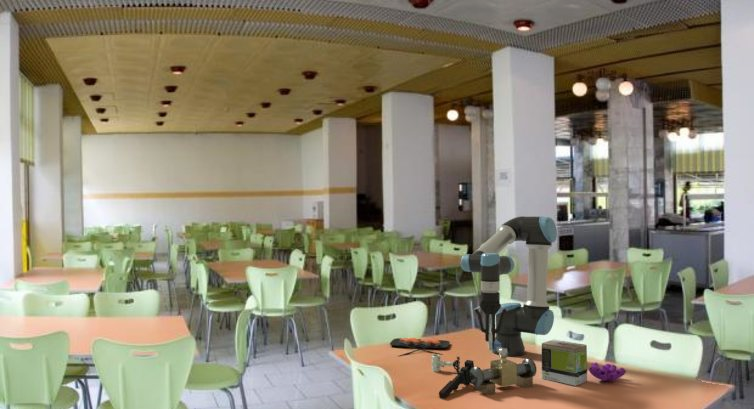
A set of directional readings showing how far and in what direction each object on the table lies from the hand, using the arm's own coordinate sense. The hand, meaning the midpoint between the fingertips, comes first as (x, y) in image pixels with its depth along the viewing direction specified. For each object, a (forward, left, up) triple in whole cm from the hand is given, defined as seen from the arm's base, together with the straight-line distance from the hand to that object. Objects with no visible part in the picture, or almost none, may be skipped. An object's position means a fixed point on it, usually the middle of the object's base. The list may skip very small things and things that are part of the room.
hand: (490, 349), depth 242 cm
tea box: (-25, +15, -12) cm, 32 cm away
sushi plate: (+2, -55, -13) cm, 56 cm away
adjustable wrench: (+20, +5, -12) cm, 24 cm away
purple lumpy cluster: (-39, +24, -12) cm, 48 cm away
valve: (+11, -17, -12) cm, 24 cm away
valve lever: (0, +5, 0) cm, 5 cm away
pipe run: (+3, +12, -12) cm, 17 cm away
